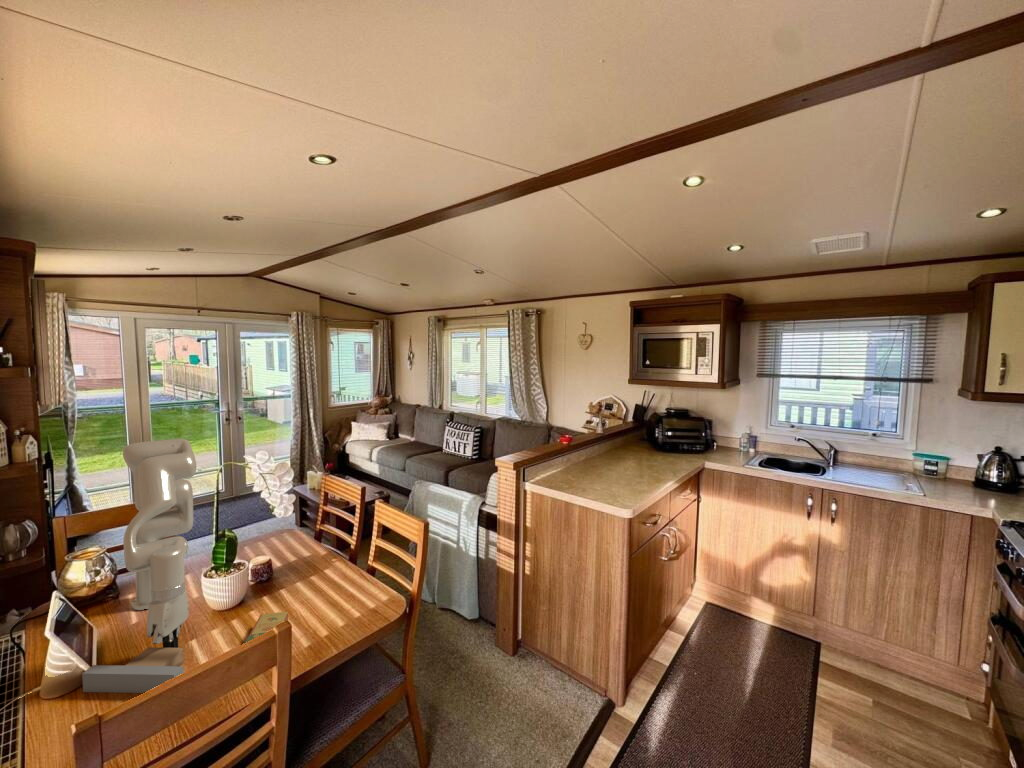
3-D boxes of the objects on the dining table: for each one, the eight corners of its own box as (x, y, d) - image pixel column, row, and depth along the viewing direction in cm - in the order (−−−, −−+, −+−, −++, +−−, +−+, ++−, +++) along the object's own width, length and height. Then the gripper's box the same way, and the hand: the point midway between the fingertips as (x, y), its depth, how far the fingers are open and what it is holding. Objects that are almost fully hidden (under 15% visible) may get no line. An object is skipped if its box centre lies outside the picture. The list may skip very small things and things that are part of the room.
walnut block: (148, 662, 121) (148, 647, 121) (183, 663, 121) (183, 647, 121) (122, 684, 113) (122, 667, 113) (160, 684, 113) (159, 668, 113)
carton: (288, 623, 140) (288, 610, 140) (274, 656, 124) (273, 642, 124) (260, 626, 138) (260, 613, 138) (241, 660, 122) (241, 646, 122)
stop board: (94, 683, 113) (93, 665, 113) (184, 684, 113) (183, 666, 112) (83, 692, 110) (82, 673, 110) (175, 693, 110) (174, 674, 110)
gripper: (175, 577, 129) (177, 635, 130) (132, 606, 114) (135, 671, 115) (200, 577, 129) (202, 635, 130) (160, 606, 114) (163, 671, 116)
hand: (170, 652), depth 123 cm, fingers closed
